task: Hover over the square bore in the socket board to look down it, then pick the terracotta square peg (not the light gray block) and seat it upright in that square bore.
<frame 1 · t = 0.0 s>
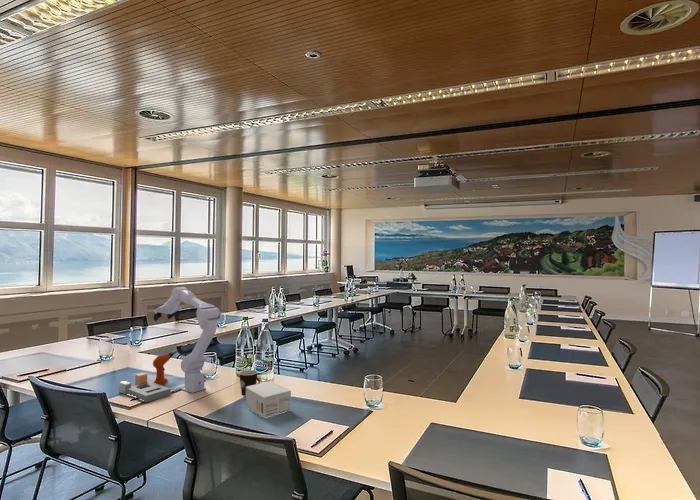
hand: (161, 318, 220), 32 cm above the table, tool tilted 50°, fingers open, 7 cm apart
socket board: (148, 394, 196), on the table
supplement box: (267, 410, 178), on the table
square peg: (141, 388, 205), on the table
toy drill: (166, 380, 217), on the table
coffee mug: (249, 394, 197), on the table
light gray block: (124, 392, 199), on the table
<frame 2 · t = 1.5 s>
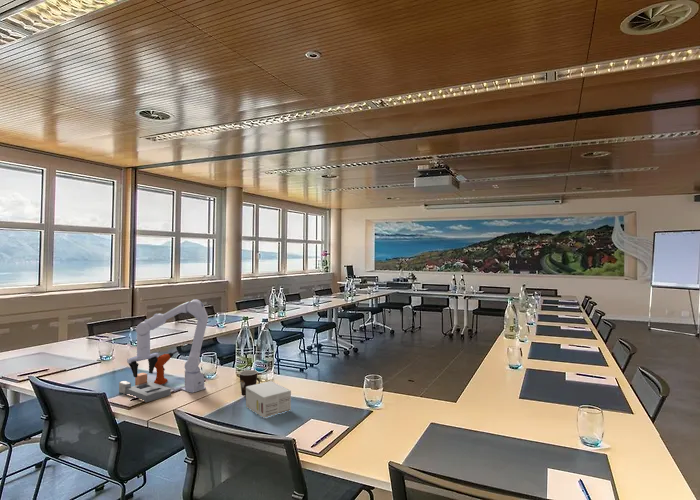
hand: (143, 375, 199), 9 cm above the table, tool pointing down, fingers open, 7 cm apart
light gray block: (124, 392, 199), on the table, touching socket board
everything else where it was.
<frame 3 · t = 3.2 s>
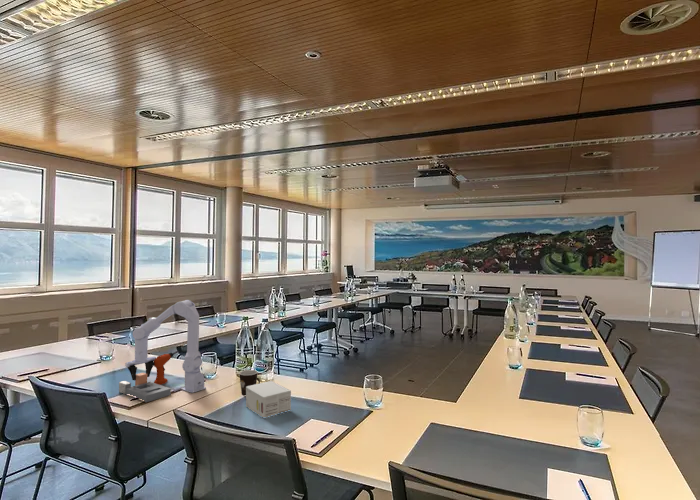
hand: (140, 378, 205), 5 cm above the table, tool pointing down, fingers open, 6 cm apart
light gray block: (124, 392, 199), on the table
everything else where it was.
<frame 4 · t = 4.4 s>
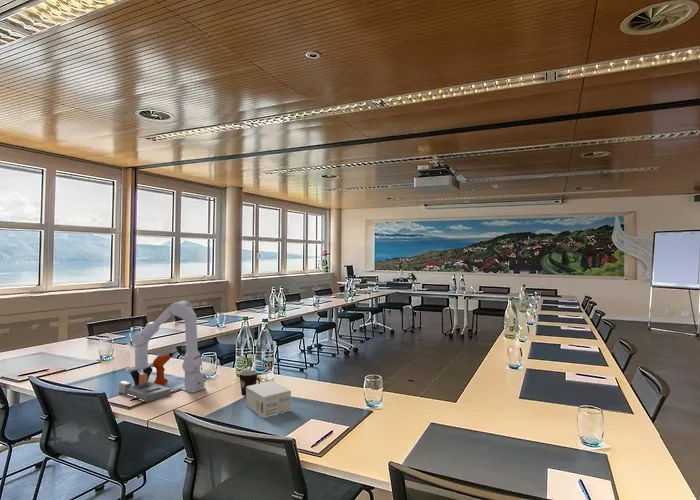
hand: (141, 384, 205), 2 cm above the table, tool pointing down, fingers closed on square peg, 4 cm apart
square peg: (141, 388, 205), on the table, touching gripper
everything else where it was.
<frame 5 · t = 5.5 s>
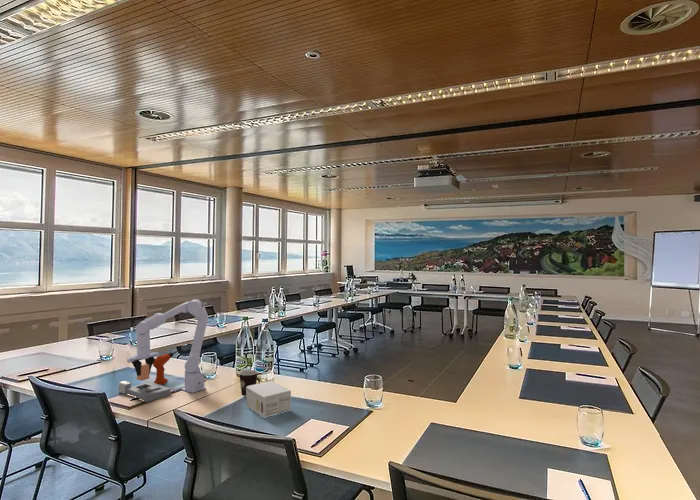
hand: (143, 374, 199), 9 cm above the table, tool pointing down, fingers closed on square peg, 4 cm apart
square peg: (143, 378, 199), point 7 cm above the table, touching gripper
everything else where it was.
when the fingers open (4 cm above the table, at t = 6.8 s): square peg drops 1 cm, resting in socket board.
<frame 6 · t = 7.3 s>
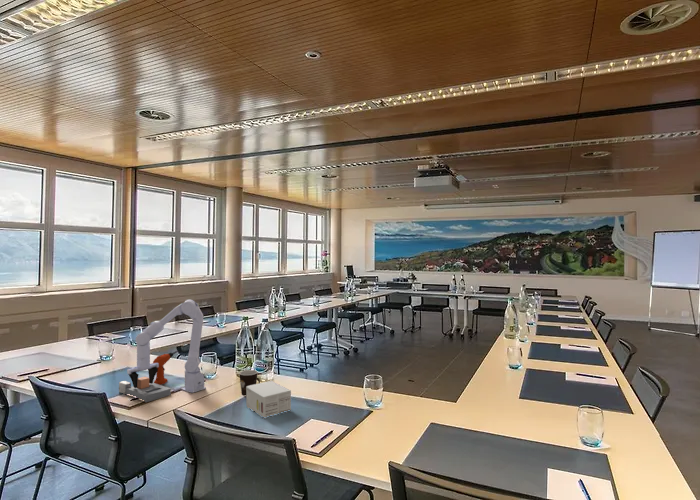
hand: (143, 385, 199), 4 cm above the table, tool pointing down, fingers open, 7 cm apart
square peg: (143, 392, 199), resting in socket board
everything else where it was.
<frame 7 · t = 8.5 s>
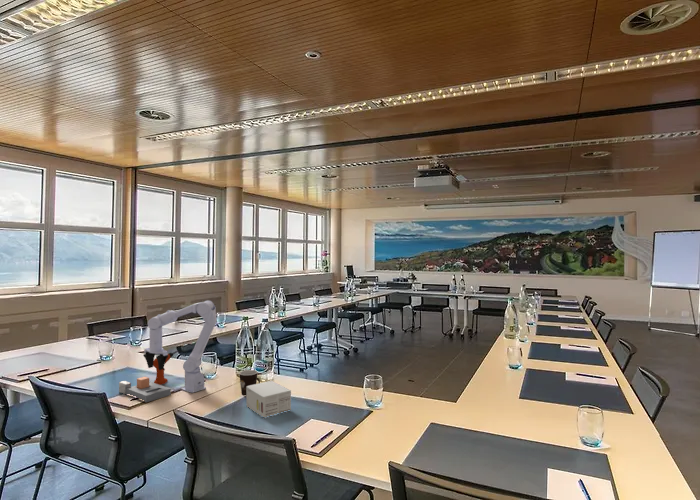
hand: (155, 368, 203), 10 cm above the table, tool pointing down, fingers open, 7 cm apart
nothing on the table moved.
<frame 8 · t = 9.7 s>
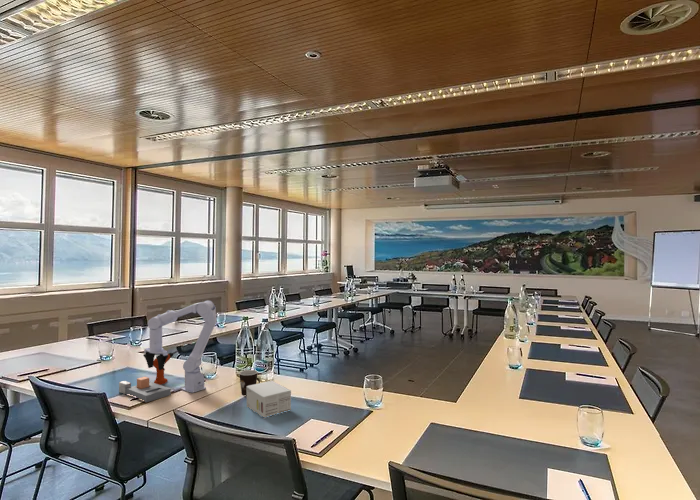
hand: (155, 368, 203), 10 cm above the table, tool pointing down, fingers open, 7 cm apart
light gray block: (124, 392, 199), on the table, touching socket board
everything else where it was.
at the end: square peg 0.2 cm from the target spot on the socket board, point 0.0 cm above the socket board's base; square peg tilted 0°; the gripper is holding nothing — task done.
